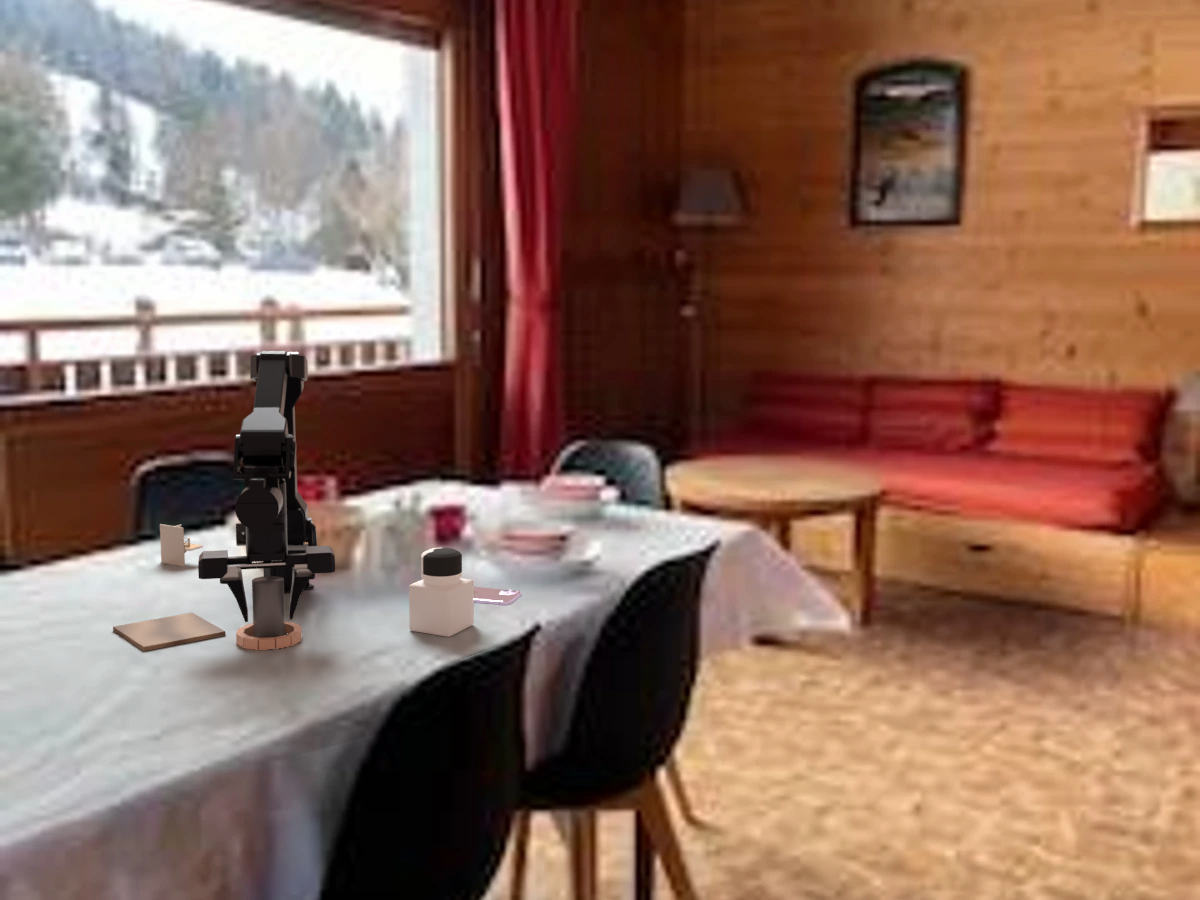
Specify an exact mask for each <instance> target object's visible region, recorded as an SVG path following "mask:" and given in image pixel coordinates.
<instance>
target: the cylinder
mask: <svg viewBox="0 0 1200 900" xmlns="http://www.w3.org/2000/svg"><path fill="white" fill-rule="evenodd" d="M251 588H252V589H251V593H252V623H253V634H254V635H253V637H258V638H268V637H278V636H283V635H286V634H285V622H286V621H285V620H286V619H285V618H286V617H285V593H284V579H283V578H282V577H278V576H264V575H263V576H258V577H255V578H253V579H252V580H251Z"/></svg>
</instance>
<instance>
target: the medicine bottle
mask: <svg viewBox="0 0 1200 900" xmlns="http://www.w3.org/2000/svg"><path fill="white" fill-rule="evenodd" d="M420 568H421V569H420V575H421V576H420V577H421V580H418V581H415V582H414V583H411V584H410V585H409V587H408V593H409V594H408V595H409V596H408V601H409V602H408V604H409V605H408V607H409V609H408V610H409V612H408V613H409V617H408V618H409V619H408V621H409V624H408V625H409V626H408V627H409V631H410V632H417V633H421V634H422V633H424V634H428V635H435V636H440V637H447V638H450V637H452V636H454V635H456V634H458V633H460V632H462V631H464V630H466V629H468V628H470V627H472V626H473V625H474V614H475V613H474V612H475V611H474V605H475V604H474V603H475V602H474V587H475V585H474V584H475V583H474V580H473V579H471V578H470V579H469V578H462V577H463V554H462V553H461V552H460V551H459V550H457V549H456V548H455V549H454V548H451V547H433V548H429V549H427V550H425V551H423V552H422V553H421V554H420Z"/></svg>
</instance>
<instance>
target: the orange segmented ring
mask: <svg viewBox="0 0 1200 900" xmlns="http://www.w3.org/2000/svg"><path fill="white" fill-rule="evenodd" d="M302 629H303V627H302V626H301V625H299V624H298V623H295V622H290V621H285V633H288V634H285V635H283V636H278V637H268V638H258V637H254V634H253V622H252V623H249V624H245V625H243V626H241V627H239V628H237V630H236V633H235V635H236V636H235V637H236V638H235V639H236V645H238V646H239V647H241V648H243V649H247V650H253V649H254V651H270V650H269V649H274V650H279V648H281V649H285V648H284V647H286V648H290V647H289V646H291V647H293V646H295V645H297V644H299V643H300V641H302V636H303V634H302V632H303V631H302ZM298 642H299V643H298ZM294 644H295V645H294ZM275 648H276V649H275ZM258 649H259V650H258ZM267 649H268V650H267Z"/></svg>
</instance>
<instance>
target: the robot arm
mask: <svg viewBox="0 0 1200 900" xmlns="http://www.w3.org/2000/svg"><path fill="white" fill-rule="evenodd" d="M249 357H250V358H249V367H250V368H249V373H250V374H249V376H250V377H249V379H250V380H251V381H253V382H256V383H255V384H256V385H255V392H254V393H255V394H254V400H253V407H252V408H253V409H252V411H251V413H250V414H248V415H247V416H245V418H243V419H242V421H241V422H242V423H241V426H240V432H239V434H236V435H235V439H234V440H235V441H234V452H233V454H234V457H233V470H232V479H233V480H244V487H243V489H242V492H241V494H240V495H239V496H238V498H237V499H236V503H235V507H234V511H235V516H236V518H237V520H238V521H239V522H237V523H235V544H236V546H237V547H243V546H245V554H246V555H242V556H241V555H240V556H229V552H228V549H226V550H224V549H222V550H203V551H202V552H201V553H200V554H199V556H198V560H197V561H198V562H197V564H198V565H197V566H198V567H197V568H198V570H197V571H198V579H200V580H210V579H211V580H213V579H214V580H215V579H216V580H217V579H219V584H221V585H227V586H228V588H229V589H230V591H231V593H232V595H233V596H234V599H235V600H236V602H237V605H238V608H239V610H240V613H241V614H242V617H243V620H244V622H245V623H248V622H249V609H248V603H247V602H248V601H247V597H246V591H245V586H244V579H243V572H242V570H254V569H255V570H257V569H263V576H278V577H282V578H283V579H284V594H287V593H290V597H289V605H288V612H289V615H288V616H289V620H293V619H294V615H295V612H296V609H297V606H298V604H299V601H300V598H301V595H302V592H303V591H305V590H311V589H314V588H315V585H314V584H313V583H310V580H315V579H316V574H330V573H334V572H336V559H335V558H336V557H335V553H334V549H333V548H332V546H330V545H318V537H317V526H316V525H315V524H314V522H313V519H312V517H309V513H308V512H309V511H308V508H309V507H308V504H307V503H306V501H305V499H303V497H302V495H301V494H300V493H299V490H298V472H297V471H298V469H297V468H298V467H297V465H298V464H297V441H296V440H297V439H296V437H297V436H296V411H295V410H296V407H295V406H296V403H297V402H298V400H299V399H300V397H301V395H302V393H303V390H304V387H305V382H306V381H308V379H309V378H308V376H309V373H308V372H309V371H308V367H309V366H308V365H309V364H308V359H307V357H306V356H304V355H300V351H287V350H261V351H260V352H256V354H252V355H250V356H249ZM241 464H242V466H241Z"/></svg>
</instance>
